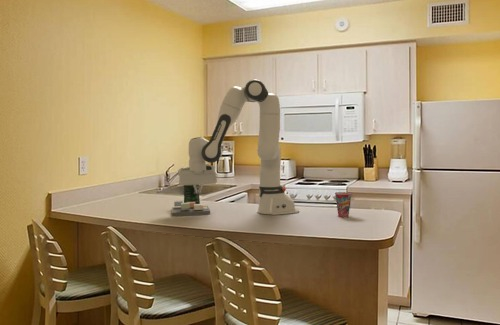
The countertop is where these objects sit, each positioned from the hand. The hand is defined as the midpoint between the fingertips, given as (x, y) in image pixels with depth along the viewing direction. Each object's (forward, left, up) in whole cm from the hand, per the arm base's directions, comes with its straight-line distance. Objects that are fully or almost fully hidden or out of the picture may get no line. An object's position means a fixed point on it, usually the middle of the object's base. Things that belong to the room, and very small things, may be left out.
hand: (198, 192), depth 239 cm
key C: (+4, -9, -9) cm, 13 cm away
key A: (0, 0, -9) cm, 9 cm away
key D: (+11, -9, -8) cm, 16 cm away
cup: (-71, +29, -12) cm, 78 cm away
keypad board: (+4, -5, -11) cm, 13 cm away
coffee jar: (+3, -21, -12) cm, 24 cm away
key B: (+7, 0, -8) cm, 11 cm away
